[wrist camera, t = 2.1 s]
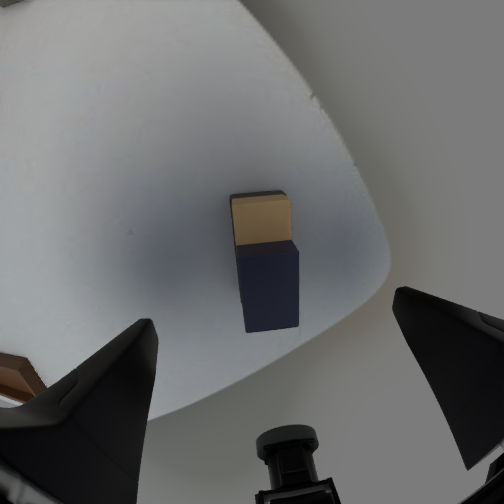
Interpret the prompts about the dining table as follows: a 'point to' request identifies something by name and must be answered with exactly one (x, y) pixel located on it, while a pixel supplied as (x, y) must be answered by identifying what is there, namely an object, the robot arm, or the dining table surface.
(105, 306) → the dining table surface
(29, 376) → the tray
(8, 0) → the dice cube
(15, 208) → the dining table surface
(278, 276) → the stacked boxes
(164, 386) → the dining table surface
